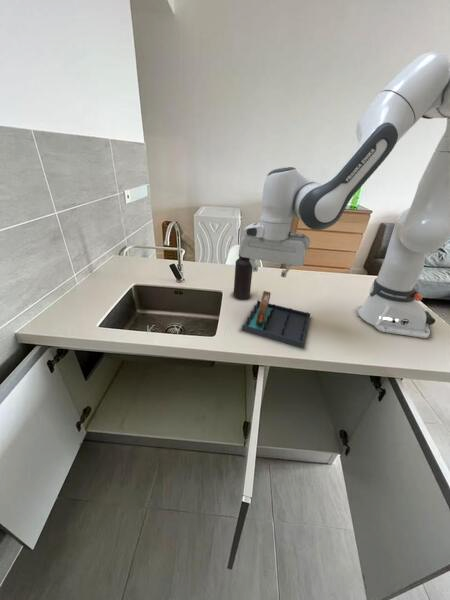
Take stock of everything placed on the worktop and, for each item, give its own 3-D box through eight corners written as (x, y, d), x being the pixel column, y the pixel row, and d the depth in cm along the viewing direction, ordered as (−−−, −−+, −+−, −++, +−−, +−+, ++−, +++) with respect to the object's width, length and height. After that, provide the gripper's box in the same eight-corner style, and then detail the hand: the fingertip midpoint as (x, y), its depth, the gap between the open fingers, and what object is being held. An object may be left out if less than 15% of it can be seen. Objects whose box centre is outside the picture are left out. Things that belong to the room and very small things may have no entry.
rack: (309, 317, 89) (311, 309, 87) (302, 348, 75) (305, 338, 73) (257, 304, 95) (258, 296, 93) (241, 330, 81) (242, 321, 79)
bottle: (237, 290, 105) (240, 245, 95) (252, 294, 103) (257, 248, 92) (230, 297, 100) (233, 250, 89) (246, 301, 97) (250, 253, 87)
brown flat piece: (260, 305, 93) (263, 286, 89) (268, 306, 93) (271, 287, 88) (254, 328, 81) (257, 307, 77) (263, 330, 80) (267, 309, 76)
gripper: (312, 232, 70) (303, 275, 77) (245, 224, 77) (242, 265, 84) (309, 237, 65) (300, 284, 72) (238, 228, 72) (236, 271, 79)
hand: (269, 273), depth 78 cm, fingers open, 8 cm apart
